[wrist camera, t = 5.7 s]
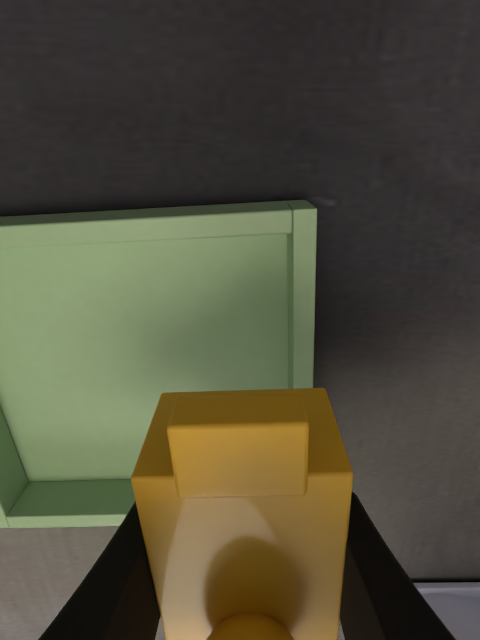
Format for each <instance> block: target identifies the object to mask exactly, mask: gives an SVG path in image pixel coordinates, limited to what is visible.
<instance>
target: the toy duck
mask: <svg viewBox="0 0 480 640" xmlns="http://www.w3.org/2000/svg"><path fill="white" fill-rule="evenodd" d="M131 483H132V487H133V492H134V496H135V501H136V506H137V510H138V515H139V519H140V524H141V528H142V533H143V537H144V542H145V547H146V551H147V556H148V560H149V565H150V569H151V574H152V579H153V583H154V588H155V592H156V597H157V601H158V606H159V611H160V615H161V620H162V624H163V629H164V633H165V638H166V640H338V633H339V622H340V607H341V596H342V585H343V575H344V564H345V553H346V542H347V537H348V527H349V516H350V505H351V495H352V484H353V471H352V468H351V465H350V462H349V459H348V456H347V453H346V450H345V447H344V444H343V441H342V438H341V435H340V432H339V429H338V425H337V422H336V419H335V416H334V413H333V410H332V407H331V404H330V401H329V398H328V395H327V392H326V390H325V388H298V389H265V390H232V391H198V392H165V393H162V394H161V396H160V399H159V402H158V404H157V407H156V410H155V413H154V415H153V418H152V421H151V424H150V427H149V429H148V432H147V435H146V438H145V440H144V443H143V446H142V449H141V451H140V454H139V457H138V460H137V462H136V465H135V468H134V471H133V474H132V476H131Z"/></svg>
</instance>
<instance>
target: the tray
mask: <svg viewBox="0 0 480 640" xmlns="http://www.w3.org/2000/svg"><path fill="white" fill-rule="evenodd" d="M316 240H317V208H315V207H314V206H313V205H312V204H310V203H309V202H308V201H306V200H290V201H272V202H255V203H237V204H219V205H201V206H184V207H166V208H148V209H131V210H113V211H95V212H77V213H60V214H42V215H24V216H6V217H0V528H9V527H10V528H37V527H84V526H120V525H121V523H122V522H123V520H124V519H125V517H126V515H127V514H128V512H129V511H130V509H131V507H132V506H133V504H134V502H135V496H134V492H133V487H132V483H131V476H132V474H133V471H134V468H135V465H136V462H137V460H138V457H139V454H140V451H141V449H142V446H143V443H144V440H145V438H146V435H147V432H148V429H149V427H150V424H151V421H152V418H153V415H154V413H155V410H156V407H157V404H158V402H159V399H160V396H161V394H162V393H165V392H198V391H232V390H265V389H298V388H313V367H314V324H315V282H316Z"/></svg>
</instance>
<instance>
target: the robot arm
mask: <svg viewBox="0 0 480 640" xmlns="http://www.w3.org/2000/svg"><path fill="white" fill-rule="evenodd" d="M159 619H160V611H159V606H158V601H157V597H156V592H155V588H154V583H153V579H152V574H151V569H150V565H149V560H148V556H147V551H146V547H145V542H144V537H143V533H142V528H141V524H140V519H139V515H138V510H137V506H136V501H135V502H134V504H133V506H132V507H131V509H130V511H129V512H128V514H127V515H126V517H125V519H124V520H123V522H122V523H121V525H120V527H119V528H118V530H117V531H116V533H115V534H114V536H113V538H112V539H111V541H110V542H109V544H108V545H107V547H106V548H105V550H104V551H103V553H102V554H101V556H100V557H99V558H98V560H97V561H96V563H95V564H94V566H93V567H92V569H91V570H90V571H89V573H88V574H87V576H86V577H85V579H84V580H83V582H82V583H81V584H80V586H79V587H78V588H77V590H76V591H75V592H74V594H73V595H72V596H71V598H70V599H69V600H68V602H67V603H66V604H65V606H64V607H63V608H62V610H61V611H60V612H59V614H58V615H57V616H56V618H55V619H54V620H53V622H52V623H51V624H50V626H49V627H48V628H47V629H46V631H45V632H44V633H43V634H42V636H41V637H40V638H39V639H38V640H155V636H156V632H157V628H158V624H159ZM340 621H341V625H342V629H343V633H344V637H345V640H480V582H446V583H413V582H412V581H411V580H410V578H409V577H408V575H407V574H406V572H405V571H404V569H403V568H402V567H401V565H400V564H399V562H398V561H397V559H396V558H395V557H394V555H393V554H392V552H391V551H390V549H389V548H388V546H387V545H386V543H385V542H384V540H383V538H382V537H381V535H380V534H379V532H378V531H377V529H376V527H375V526H374V524H373V523H372V521H371V519H370V518H369V516H368V514H367V513H366V511H365V509H364V507H363V506H362V504H361V502H360V500H359V499H358V497H357V495H356V494H355V493H353V492H352V495H351V505H350V516H349V527H348V537H347V542H346V553H345V564H344V575H343V585H342V596H341V607H340Z"/></svg>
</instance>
